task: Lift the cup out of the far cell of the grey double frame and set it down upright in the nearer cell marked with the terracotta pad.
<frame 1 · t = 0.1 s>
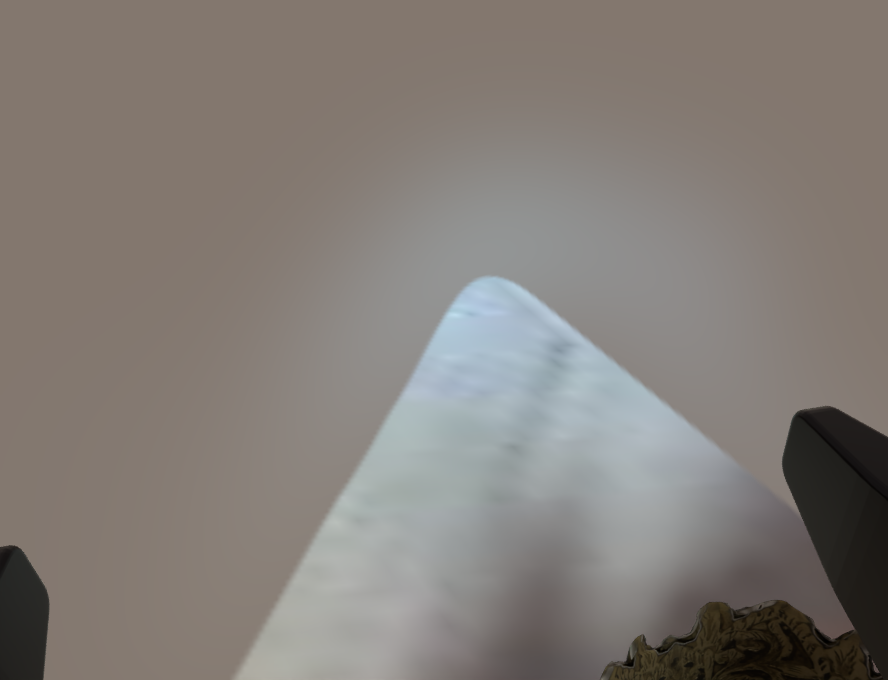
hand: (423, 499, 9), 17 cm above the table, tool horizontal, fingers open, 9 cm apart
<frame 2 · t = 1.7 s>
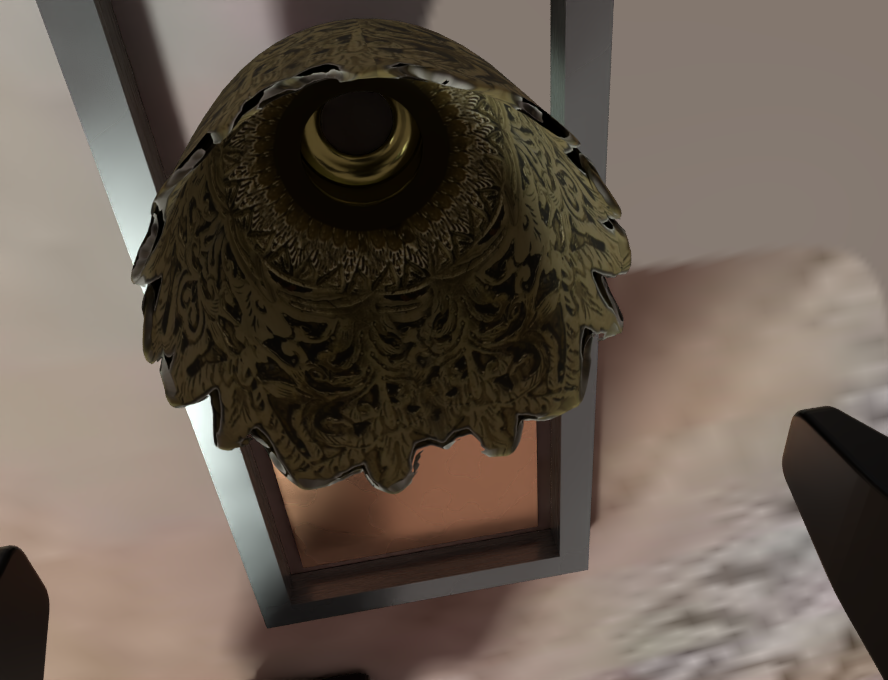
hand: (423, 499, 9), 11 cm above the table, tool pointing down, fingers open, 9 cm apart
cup: (356, 116, 19), on the table
grey double frame: (386, 315, 22), on the table
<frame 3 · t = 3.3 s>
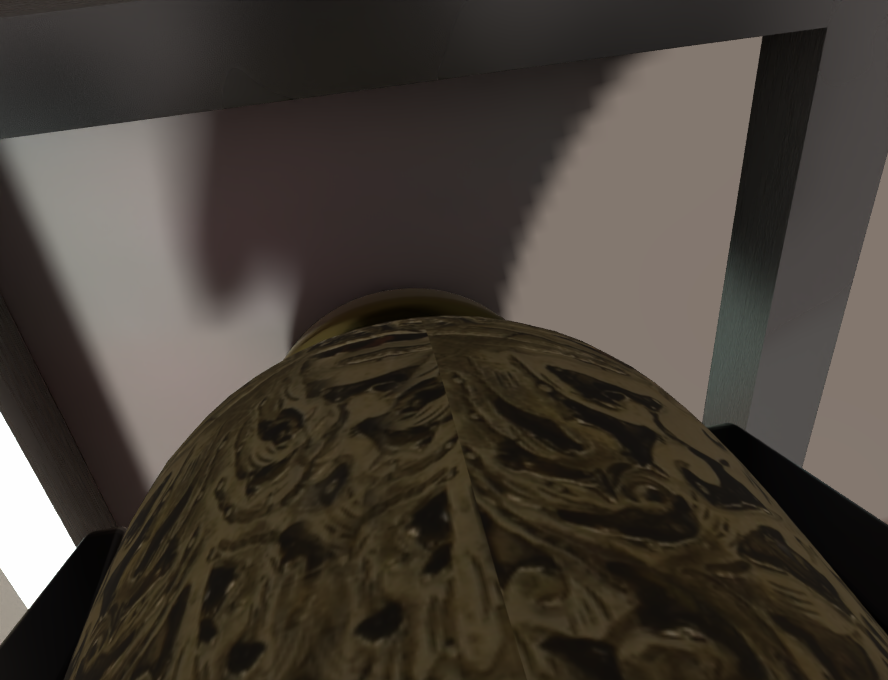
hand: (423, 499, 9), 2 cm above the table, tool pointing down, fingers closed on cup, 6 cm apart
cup: (401, 368, 11), on the table, touching gripper
grey double frame: (436, 612, 15), on the table
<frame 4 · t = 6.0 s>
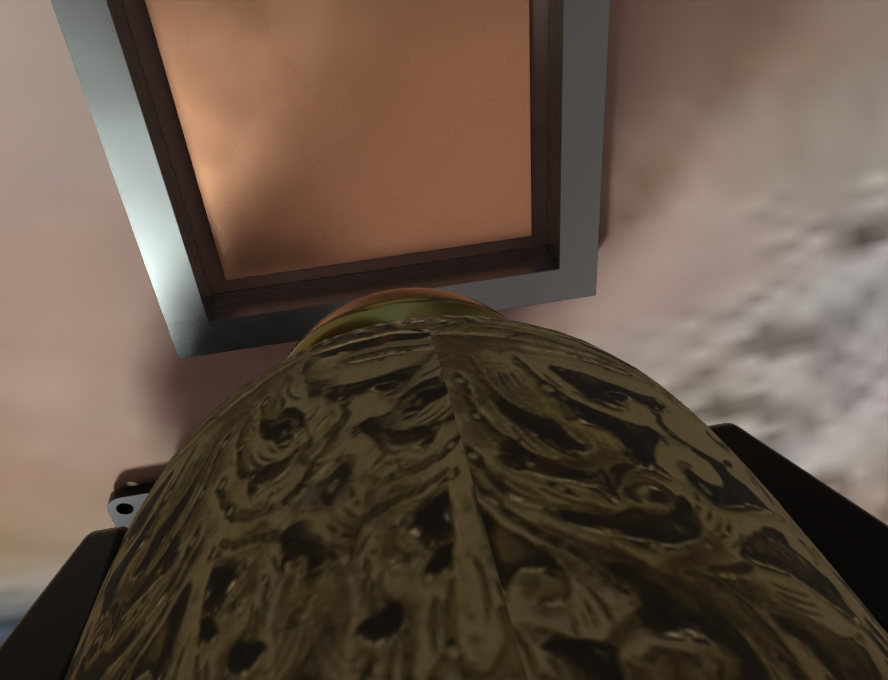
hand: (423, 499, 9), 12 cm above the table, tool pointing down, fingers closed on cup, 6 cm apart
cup: (403, 367, 11), point 10 cm above the table, touching gripper
when the fingers open (3 cm above the table, at t = 8.5 s): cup stays where it is, resting on grey double frame.
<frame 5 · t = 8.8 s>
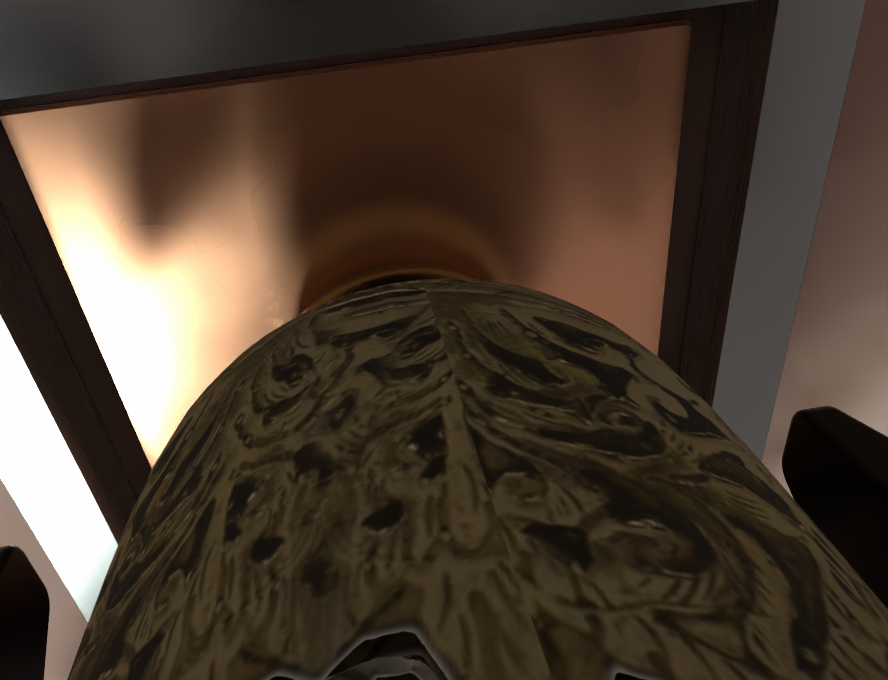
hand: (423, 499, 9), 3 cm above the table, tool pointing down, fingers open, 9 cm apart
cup: (401, 339, 12), resting on grey double frame
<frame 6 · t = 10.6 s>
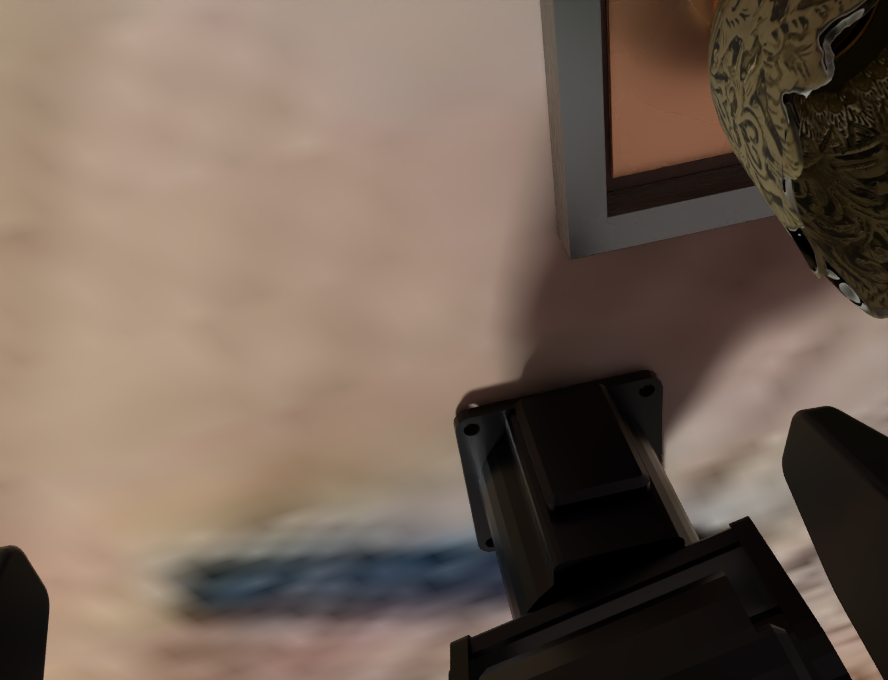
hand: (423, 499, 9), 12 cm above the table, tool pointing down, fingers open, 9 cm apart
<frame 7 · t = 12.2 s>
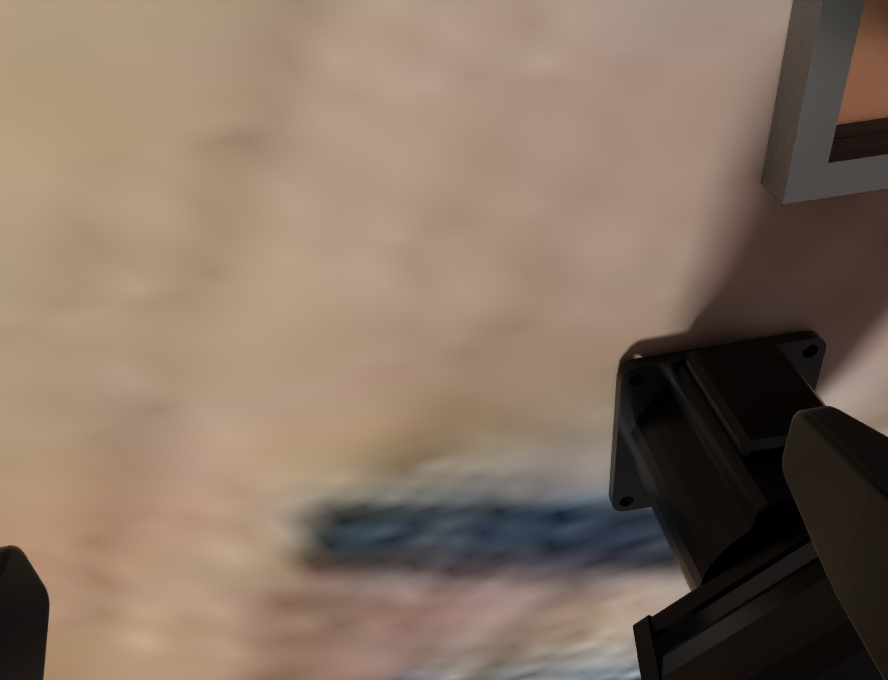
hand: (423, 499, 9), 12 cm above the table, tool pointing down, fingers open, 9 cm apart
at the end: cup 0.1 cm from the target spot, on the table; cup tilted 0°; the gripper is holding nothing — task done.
